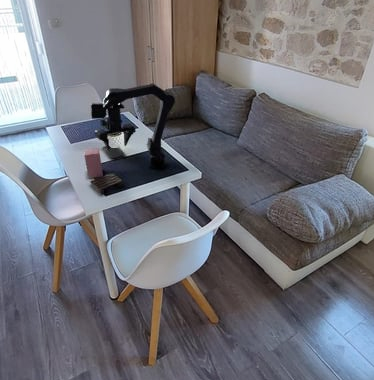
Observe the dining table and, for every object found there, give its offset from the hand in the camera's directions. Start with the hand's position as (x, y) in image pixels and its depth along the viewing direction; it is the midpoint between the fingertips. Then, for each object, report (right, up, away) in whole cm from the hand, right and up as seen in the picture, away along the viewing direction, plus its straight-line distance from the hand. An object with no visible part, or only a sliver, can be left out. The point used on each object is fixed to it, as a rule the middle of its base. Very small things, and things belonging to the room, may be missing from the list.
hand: (116, 147), depth 152 cm
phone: (-8, 0, +25) cm, 26 cm away
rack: (-4, -19, -4) cm, 20 cm away
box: (-12, -13, +5) cm, 18 cm away
